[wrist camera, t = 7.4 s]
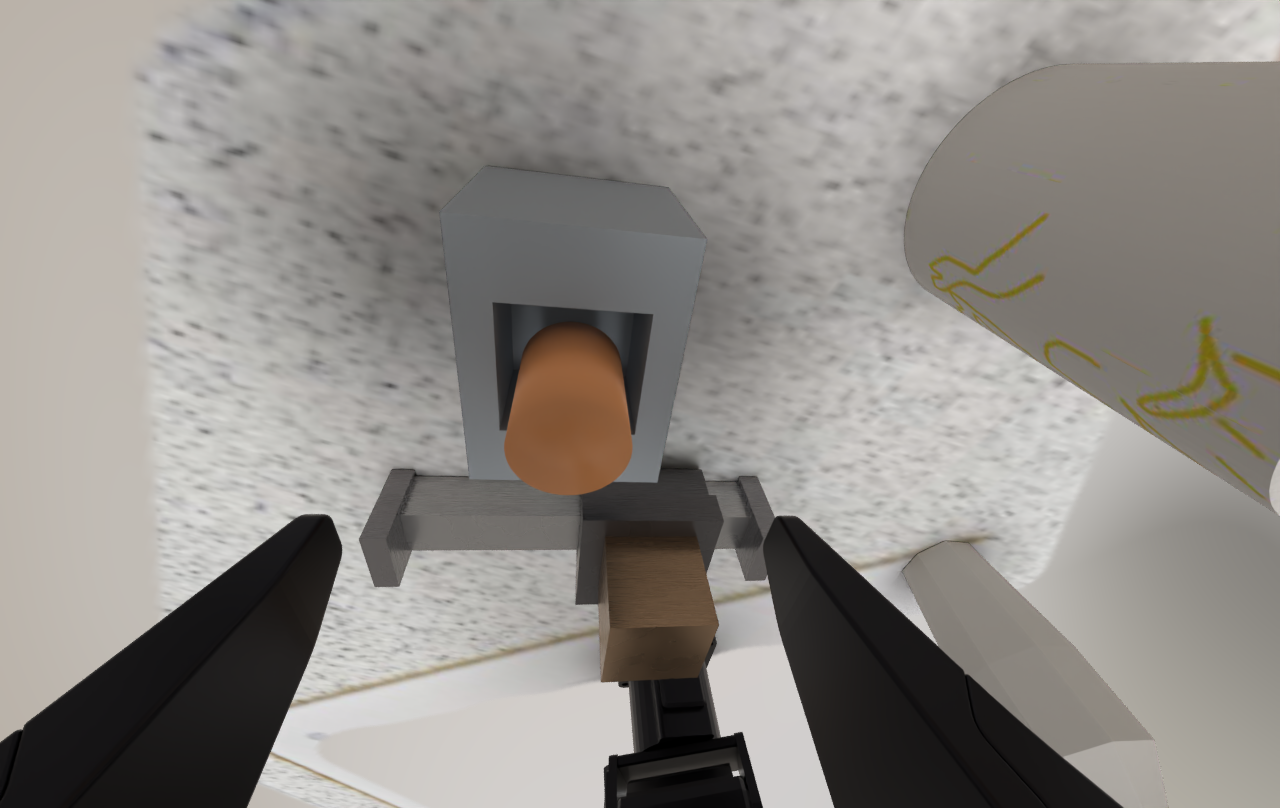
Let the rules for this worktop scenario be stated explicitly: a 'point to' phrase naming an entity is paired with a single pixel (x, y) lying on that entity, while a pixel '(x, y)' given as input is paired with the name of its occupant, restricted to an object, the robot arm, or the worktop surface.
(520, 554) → the worktop surface
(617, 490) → the carriage
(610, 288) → the grey hollow block
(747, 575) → the rail
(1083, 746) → the low poly bottle
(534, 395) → the button
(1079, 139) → the cup
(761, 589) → the worktop surface
